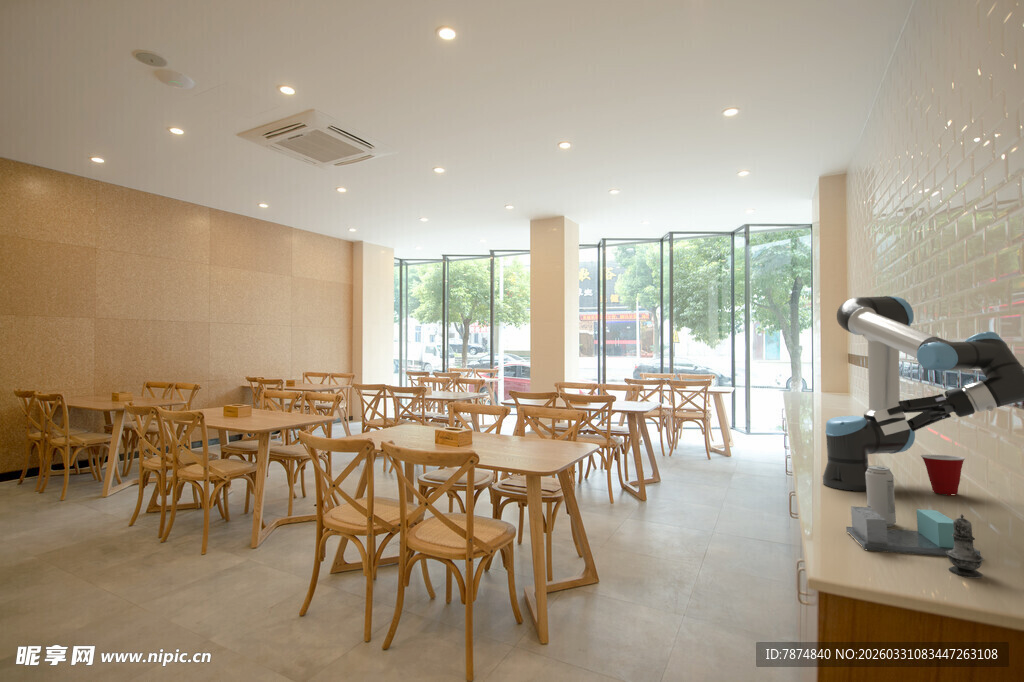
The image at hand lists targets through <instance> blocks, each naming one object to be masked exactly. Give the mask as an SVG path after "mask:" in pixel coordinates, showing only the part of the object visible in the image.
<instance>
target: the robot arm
mask: <svg viewBox="0 0 1024 682" xmlns="http://www.w3.org/2000/svg"><path fill="white" fill-rule="evenodd" d="M914 316H915V315H914V311H913V307H912V306H911V304H910V303H909V302H907V300H906V299H905V298H902V297H899V296H889V295H888V296H887V295H885V296H856V297H853V298H850V299H848V300H845V301H844V302H843V303H841V305H840V306H839V307H838V309H837V311H836V320H837V321H836V322H837V323H838V325H839V326H840V327H841V328H842V329H844V330H845V331H847V332H849V333H851V334H853V335H856V336H862V337H863V338H864V339H866V340H867V358H868V359H867V360H868V361H867V362H868V363H867V365H868V367H867V369H868V370H867V372H868V373H867V374H868V409H867V410H866V411H864V412H863V416H861V415H842V416H841V415H840V416H834V417H832V418H829V419H828V420H827V421H826V423H825V434H826V438H825V439H826V451H827V452H826V453H827V454H826V455H827V463H826V465H825V469H824V471H823V475H822V484H823V485H824V484H825V485H824V486H826V485H827V487H829V488H833V489H837V488H838V490H843V489H844V491H851V490H853V491H855V492H867V491H866V474H865V473H866V471H867V469H868V466H870V465H869V455H873V454H874V455H875V454H876V455H877V454H878V455H879V454H891V455H892V454H897V453H904V452H906V451H908V450H910V449H911V447H912V446H913V445H914V443H915V441H916V440H915V439H916V431H918V430H920V429H922V428H926V427H927V426H929V425H932V424H935V423H937V422H940V421H942V420H945V419H948V418H951V417H952V416H951V414H952V413H955V415H956V416H957V417H958V418H962V417H967V416H970V415H971V416H972V415H974V414H975V413H976V411H977V413H981V412H985V411H987V410H988V411H990V412H993V411H994V409H996V408H1000V407H1004V406H1009V405H1011V404H1016V403H1019V402H1024V366H1023V364H1021V362H1020V361H1019V360H1018V359H1017V357H1016V356H1015V355H1014V353H1013V352H1012V350H1011V349H1010V347H1009V346H1008V344H1007V343H1006V342H1005V340H1003V339H1002V338H1001V336H1000V335H999V334H998V333H997V332H994V331H984V332H978V333H976V334H974V335H971V336H969V337H968V338H966V339H965V340H964V341H951V340H950V341H949V340H946V339H943V338H941V337H938V336H937V335H936V336H935V334H931V333H929V332H926V331H923V330H920V329H918V328H915V327H912V326H911V324H913V321H914ZM900 353H904V354H906V355H908V356H909V357H910V356H911V357H913V358H915V359H917V362H918V364H920V366H921V367H922V368H923V369H925V370H928V371H937V372H938V371H939V372H944V371H956V370H957V371H959V370H980V371H981V372H982V374H983V375H984V376H985V378H986V379H983V380H979V381H975V382H972V383H969V384H964V385H963V386H962V388H961V387H955V388H951V389H948V390H945V391H944V394H943V393H940V394H936V395H931V396H925V397H919V398H918V397H917V398H911V399H905V400H900V397H901V396H900ZM910 413H919V414H916V415H915V416H913V417H912V418H909V419H907V417H906V415H905V414H910ZM853 491H852V492H853Z"/></svg>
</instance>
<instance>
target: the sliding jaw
mask: <svg viewBox="0 0 1024 682" xmlns="http://www.w3.org/2000/svg"><path fill="white" fill-rule="evenodd" d="M954 520H955V519H952V518H950V517H948V516H947V515H944V513H941V512H940V511H938V510H935V509H934V510H933V509H919V508H918V509H916V521H917V522H916V523H917V531H918V532H919V533H920V534H922V535H923V536H924V537H926V538H927V539H929V540H930V541H932V542H933V543H934V544H936V545H937V546H939V547H946V548H954V537H953V536H952V534H954V526H953V521H954Z"/></svg>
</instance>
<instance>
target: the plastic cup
mask: <svg viewBox="0 0 1024 682" xmlns="http://www.w3.org/2000/svg"><path fill="white" fill-rule="evenodd" d="M920 457H921V458H922V460H923V462H924V465H925V468H926V472H927V476H928V479H929V482H930V485H931V489H932V491H934V492H935V493H934V492H933V493H934V494H937V493H939V494H938V495H941V494H947V495H946V496H952V495H951V494H957V495H958V493H959V485H960V480H961V474H962V468H963V464H964V462H965V461H964V460H966V457H963V456H957V455H948V454H947V455H946V454H945V455H944V454H921V455H920Z"/></svg>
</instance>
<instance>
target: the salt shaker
mask: <svg viewBox="0 0 1024 682" xmlns="http://www.w3.org/2000/svg"><path fill="white" fill-rule="evenodd" d="M964 517H965V516H964V515H963V514H962V513H961V514H960V515H959V518H955V519H953V520H954V521H953V526H954V534H952V536H953V537H954V548H953V550H948V551H946V554H947V555H948V556H947V558H948V560H949V562H950V563H951V564H952V565H954V566H950V567H949V568H948V571H949V572H950V573H952V574H954V575H956V576H960V577H963V578H968V579H983V577H984V575H983V573H981V572H980V571H978V569H979V568H980V567H981V566H982V564H983V562H984V560H985V559H984V557H983V556H982V555H981V554H980V555H978V554H976V553H975V551H974V548H975V547H974V541H975V540H976V538H975V537H974V536H973V526H972V523H971V521H970V520H968V519H966V518H964Z"/></svg>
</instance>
